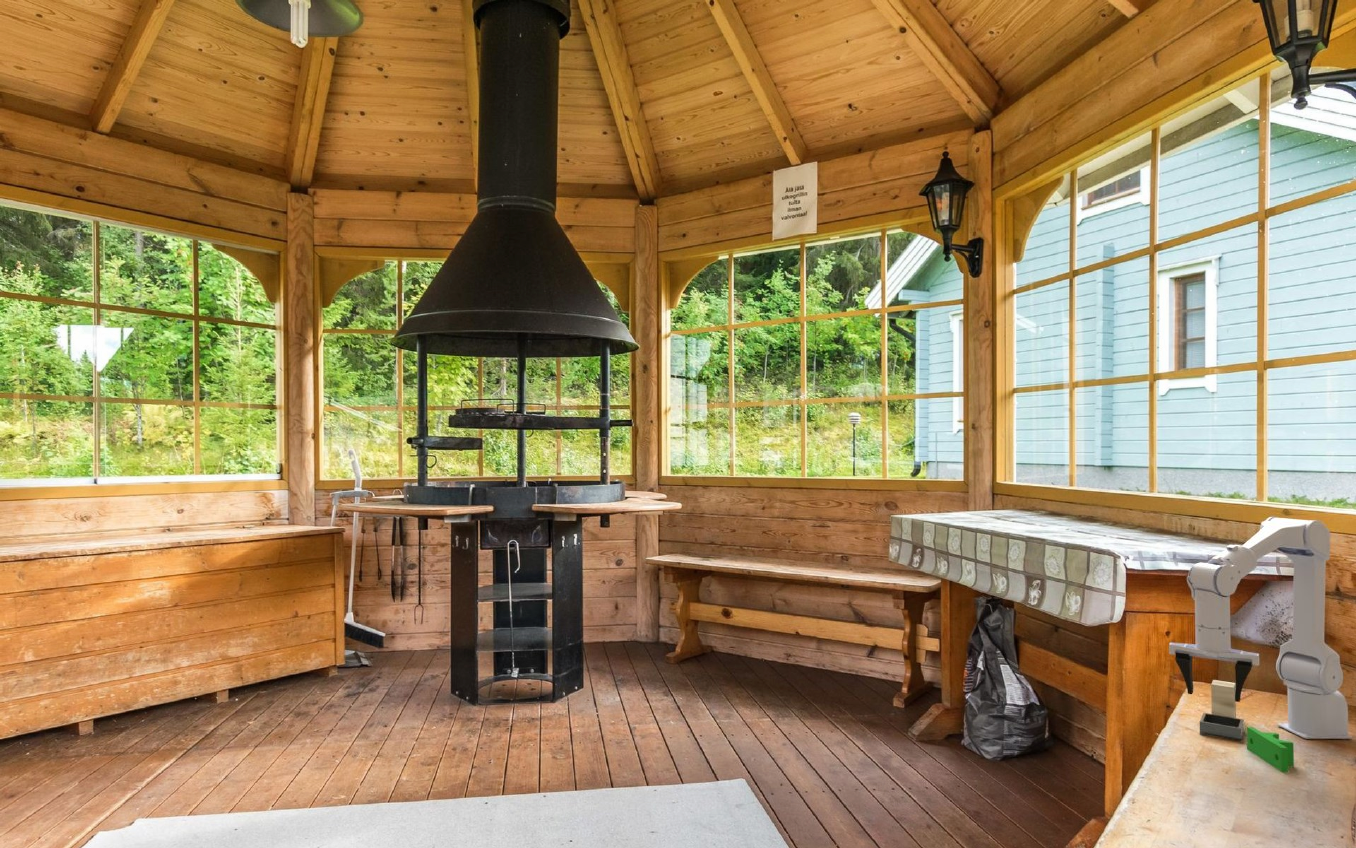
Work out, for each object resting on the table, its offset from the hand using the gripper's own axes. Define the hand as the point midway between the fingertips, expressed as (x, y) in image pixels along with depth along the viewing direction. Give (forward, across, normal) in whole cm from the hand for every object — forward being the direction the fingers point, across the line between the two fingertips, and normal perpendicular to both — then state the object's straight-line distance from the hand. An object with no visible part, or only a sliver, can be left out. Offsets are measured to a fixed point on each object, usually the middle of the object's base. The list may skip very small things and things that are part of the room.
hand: (1213, 696), depth 160 cm
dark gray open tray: (+10, 0, +13) cm, 16 cm away
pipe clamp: (+11, +9, +1) cm, 14 cm away
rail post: (+10, 0, +21) cm, 24 cm away
